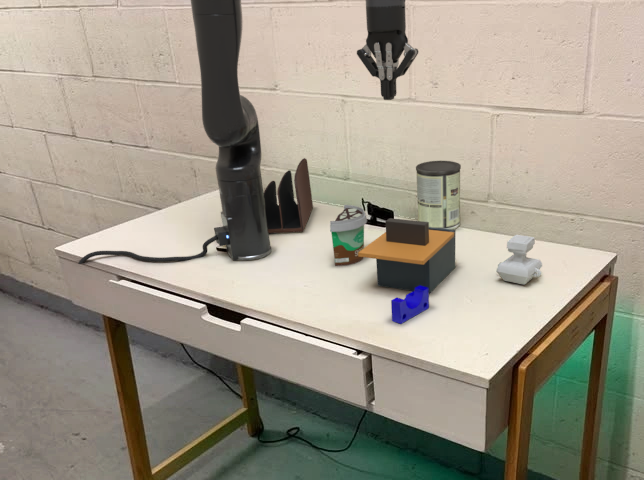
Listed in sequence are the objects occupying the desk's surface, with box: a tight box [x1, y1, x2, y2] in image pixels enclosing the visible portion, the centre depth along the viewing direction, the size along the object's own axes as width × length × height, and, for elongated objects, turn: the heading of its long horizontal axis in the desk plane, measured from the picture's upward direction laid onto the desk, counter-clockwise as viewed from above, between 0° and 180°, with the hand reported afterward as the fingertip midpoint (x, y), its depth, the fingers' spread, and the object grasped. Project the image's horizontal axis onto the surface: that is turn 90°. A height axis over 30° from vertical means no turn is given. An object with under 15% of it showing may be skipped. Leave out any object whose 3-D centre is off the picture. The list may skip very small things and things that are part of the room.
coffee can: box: [415, 160, 462, 230], centre depth 163 cm, size 10×10×14 cm
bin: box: [375, 227, 456, 294], centre depth 137 cm, size 14×11×8 cm
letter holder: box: [263, 157, 314, 234], centre depth 172 cm, size 10×20×14 cm, turn 179°
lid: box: [358, 217, 454, 265], centre depth 131 cm, size 16×13×5 cm
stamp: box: [496, 234, 543, 286], centre depth 133 cm, size 9×7×8 cm
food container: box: [329, 204, 368, 267], centre depth 147 cm, size 12×6×10 cm, turn 168°
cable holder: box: [390, 285, 430, 325], centre depth 123 cm, size 8×4×4 cm, turn 139°
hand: (389, 99), depth 141 cm, fingers closed
